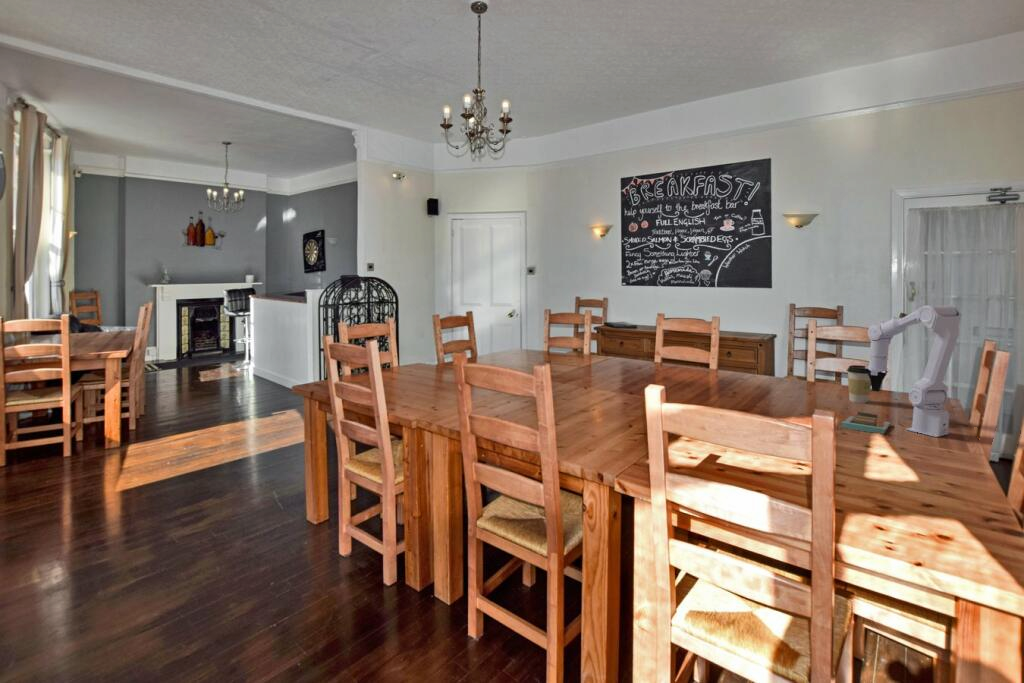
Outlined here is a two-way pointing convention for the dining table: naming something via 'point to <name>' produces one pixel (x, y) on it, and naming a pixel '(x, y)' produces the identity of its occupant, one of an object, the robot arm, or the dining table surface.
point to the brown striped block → (866, 419)
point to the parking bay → (864, 426)
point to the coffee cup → (858, 383)
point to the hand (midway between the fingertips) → (875, 390)
